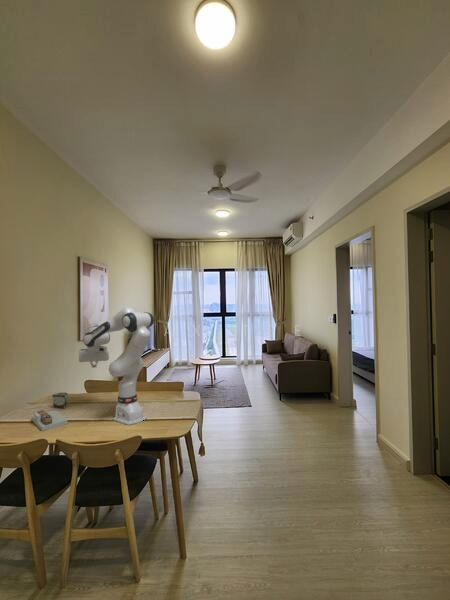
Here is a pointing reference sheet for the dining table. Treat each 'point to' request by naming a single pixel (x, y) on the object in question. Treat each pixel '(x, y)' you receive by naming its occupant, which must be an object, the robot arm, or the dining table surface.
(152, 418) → the dining table surface
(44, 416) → the brown long bar
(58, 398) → the food container
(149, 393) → the dining table surface
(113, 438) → the dining table surface
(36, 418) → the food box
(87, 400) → the dining table surface
